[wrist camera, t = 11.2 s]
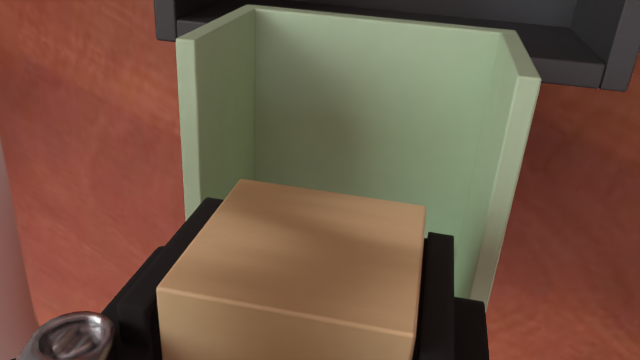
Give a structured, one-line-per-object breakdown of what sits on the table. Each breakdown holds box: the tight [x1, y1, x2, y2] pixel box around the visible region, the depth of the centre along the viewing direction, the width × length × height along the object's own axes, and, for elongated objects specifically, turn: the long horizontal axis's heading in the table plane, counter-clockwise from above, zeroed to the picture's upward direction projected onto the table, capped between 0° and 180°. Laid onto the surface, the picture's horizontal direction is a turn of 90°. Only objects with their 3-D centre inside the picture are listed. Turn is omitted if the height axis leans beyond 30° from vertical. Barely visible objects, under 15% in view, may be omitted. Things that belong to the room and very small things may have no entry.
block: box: [156, 179, 427, 360], centre depth 11 cm, size 4×4×4 cm
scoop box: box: [176, 4, 542, 313], centre depth 16 cm, size 15×8×9 cm, turn 176°
